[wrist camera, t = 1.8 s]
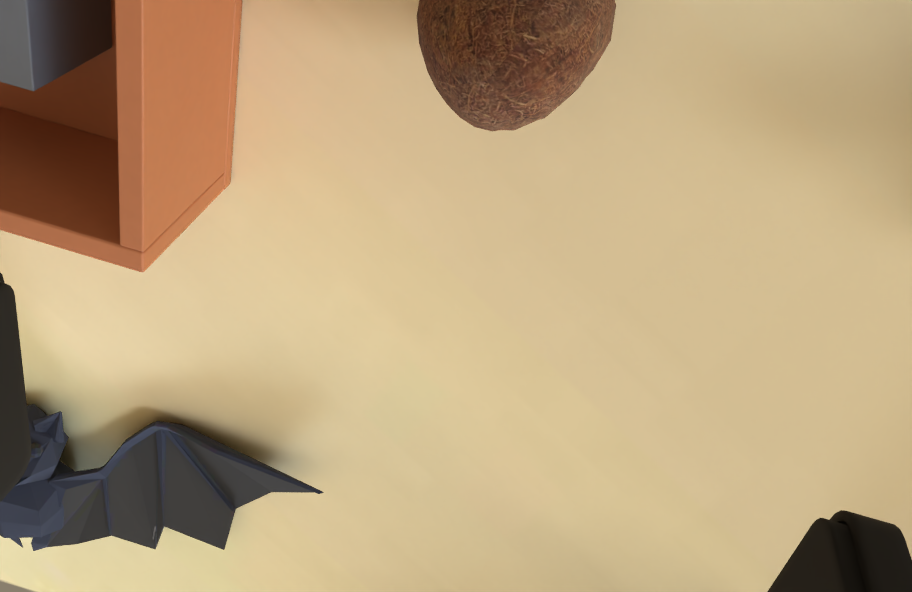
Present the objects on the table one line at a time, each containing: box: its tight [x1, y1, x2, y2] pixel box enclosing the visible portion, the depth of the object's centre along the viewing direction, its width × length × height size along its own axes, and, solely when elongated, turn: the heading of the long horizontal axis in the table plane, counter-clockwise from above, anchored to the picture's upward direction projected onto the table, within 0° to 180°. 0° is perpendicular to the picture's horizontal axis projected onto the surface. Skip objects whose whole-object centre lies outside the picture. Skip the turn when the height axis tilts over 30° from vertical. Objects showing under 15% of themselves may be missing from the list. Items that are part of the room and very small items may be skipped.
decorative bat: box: [0, 404, 324, 551], centre depth 41 cm, size 30×4×10 cm
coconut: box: [417, 0, 616, 131], centre depth 23 cm, size 5×5×8 cm
